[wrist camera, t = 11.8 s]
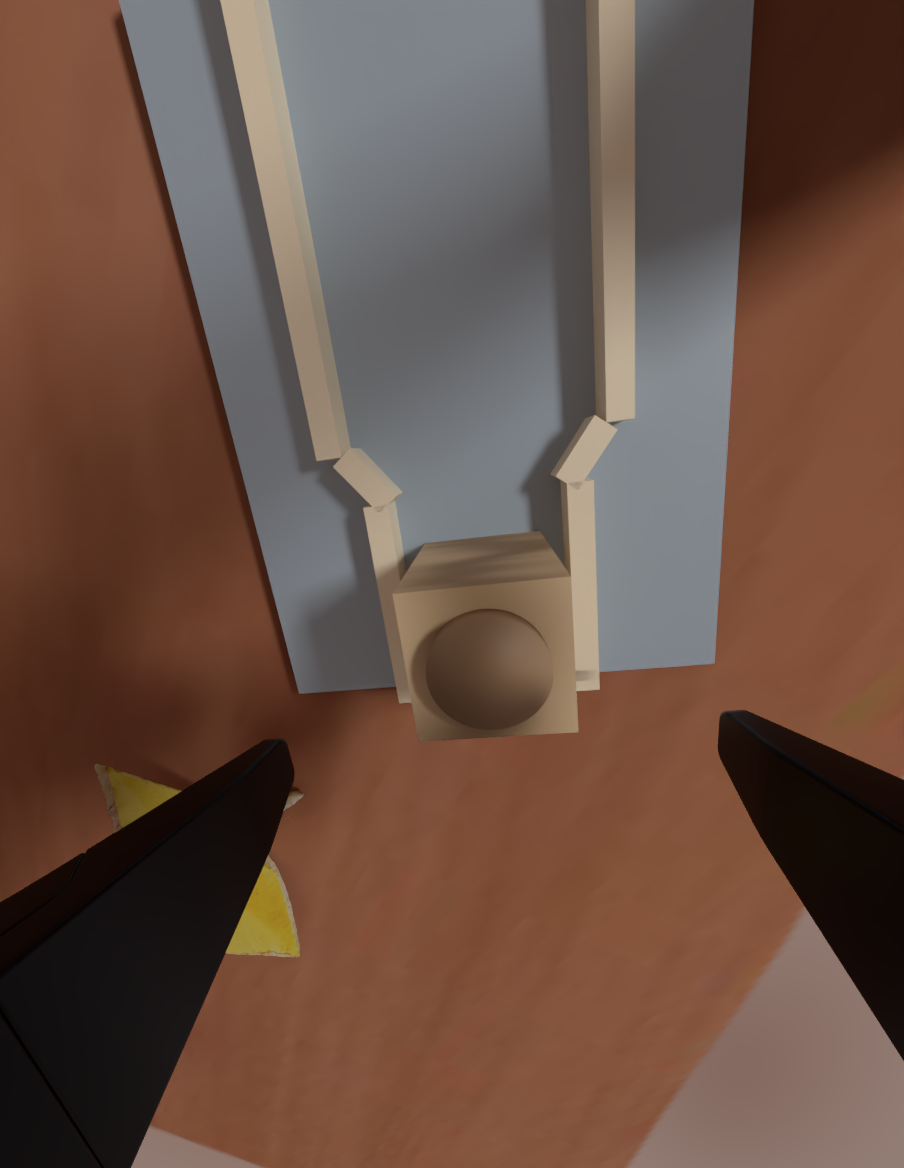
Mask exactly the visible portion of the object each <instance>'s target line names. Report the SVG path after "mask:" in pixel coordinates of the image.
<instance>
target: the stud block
mask: <svg viewBox="0 0 904 1168" xmlns="http://www.w3.org/2000/svg"><path fill="white" fill-rule="evenodd" d="M392 595H393V600H394V606H395V612H396V617H397V623H398V629H399V634H400V640H401V646H402V651H403V657H404V663H405V668H406V674H407V680H408V685H409V691H410V697H411V702H412V708H413V714H414V719H415V725H416V731H417V736H418V742H421V741H438V740H454V739H471V738H488V737H504V736H521V735H538V734H554V733H571V732H578V712H577V691H576V670H575V649H574V628H573V608H572V587H571V576H570V574H569V573H568V571H567V570H566V568H565V567H564V565H563V564H562V562H561V561H560V560H559V558H558V557H557V555H556V554H555V552H554V551H553V549H552V548H551V546H550V545H549V543H548V542H547V541H546V539H545V538H544V536H543V535H542V533H541V532H540V530H539V531H530V532H521V533H512V534H503V535H494V536H485V537H476V538H467V539H458V540H449V541H440V542H431V543H425V544H424V546H423V547H422V549H421V550H420V552H419V554H418V555H417V557H416V558H415V560H414V561H413V563H412V564H411V566H410V567H409V569H408V571H407V572H406V574H405V575H404V577H403V578H402V580H401V581H400V583H399V585H398V586H397V588H396V589H395V591H394V592H393V594H392Z"/></svg>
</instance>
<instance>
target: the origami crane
mask: <svg viewBox="0 0 904 1168" xmlns="http://www.w3.org/2000/svg"><path fill="white" fill-rule="evenodd" d="M94 769H95V771H96V772H97V774H98V777H97V779H98V780H99V782H100V783H101V785H102V791H103V793H104V795H105V797H106V799H105V800H107V801H106V802H107V803H108V806H107V811H108V815H109V816H110V817H111V818H112V820H113V821H114V822H113V828H114V832H117V831H118V830H120V829H122V828H123V827H125V826H126V825H128V824H130V823H131V822H133V821H134V820H136V819H138V818H139V817H141V816H143V815H144V814H146V813H147V812H149V811H151V810H152V809H154V808H155V807H157V806H159V805H160V804H162V803H163V802H165V801H167V800H168V799H170V798H172V797H173V796H175V795H176V794H178V793H180V792H181V791H182V790H178V789H176V788H172V787H169V786H166V785H163V784H160V783H157V782H154V781H151V780H148V779H145V778H142V777H138V776H137V775H133V774H129V773H127V772H124V771H123V772H122V771H120V770H117V769H116V768H112V767H110V766H106V765H99V764H98V763H97V764H95V766H94ZM302 797H304V794H303V793H302V792H301V791H300V790H297V791H292V792H290V793H289V796H288V799H287V802H286V805H285V808H284V811H285V809H286V808H289V807H291V806H292V805H294V804H295V803H296V802H297V801H298V800H299V799H301V798H302ZM284 811H283V812H284ZM292 814H293V813H292ZM292 814H291V815H290V816H292ZM290 816H288V817H286V818H290ZM275 865H276V864H275V863H274V862H273V861H272V859H271V858H270V857H269V855H268V857H267V859H266V862H265V864H264V867H263V869H262V871H261V873H260V876H259V878H258V880H257V882H256V885H255V887H254V889H253V891H252V894H251V896H250V898H249V901H248V903H247V905H246V907H245V910H244V912H243V914H242V916H241V919H240V921H239V923H238V926H237V928H236V930H235V932H234V935H233V937H232V939H231V941H230V944H229V946H228V948H227V951H226V954H236V955H242V954H247V955H264V956H272V955H273V956H279V957H299V955H300V952H299V950H300V944H299V943H298V941H299V940H298V936H297V928H296V925H295V923H294V921H295V920H294V917H293V913H292V911H293V910H292V909H291V908H292V906H291V903H290V900H289V898H288V893H287V891H286V888H285V884H284V883H283V881H282V878H281V875H280V873H279V870H278V869H277V867H276V866H275Z"/></svg>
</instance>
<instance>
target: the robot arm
mask: <svg viewBox="0 0 904 1168" xmlns="http://www.w3.org/2000/svg"><path fill="white" fill-rule="evenodd" d="M718 752H719V756H720V759H721V761H722V763H723V765H724V767H725V769H726V771H727V773H728V775H729V777H730V779H731V781H732V783H733V785H734V787H735V788H736V790H737V792H738V794H739V796H740V798H741V800H742V802H743V804H744V806H745V808H746V810H747V812H748V814H749V816H750V818H751V820H752V822H753V824H754V826H755V827H756V829H757V831H758V833H759V835H760V837H761V838H762V840H763V841H764V843H765V845H766V846H767V848H768V850H769V851H770V853H771V854H772V856H773V857H774V859H775V861H776V862H777V864H778V865H779V867H780V868H781V870H782V872H783V873H784V875H785V876H786V878H787V879H788V881H789V882H790V884H791V886H792V887H793V889H794V890H795V892H796V893H797V895H798V897H799V898H800V900H801V901H802V903H803V904H804V906H805V907H806V909H807V911H808V912H809V914H810V915H811V917H812V918H813V920H814V921H815V923H816V925H817V926H818V928H819V929H820V931H821V932H822V934H823V936H824V937H825V939H826V940H827V942H828V943H829V945H830V947H831V948H832V950H833V951H834V953H835V954H836V956H837V957H838V959H839V961H840V962H841V963H842V965H843V967H844V968H845V970H846V971H847V973H848V975H849V976H850V978H851V979H852V981H853V982H854V984H855V985H856V987H857V989H858V990H859V992H860V993H861V995H862V996H863V998H864V999H865V1001H866V1003H867V1004H868V1006H869V1007H870V1009H871V1011H872V1012H873V1014H874V1015H875V1017H876V1018H877V1020H878V1021H879V1023H880V1024H881V1026H882V1028H883V1029H884V1031H885V1032H886V1034H887V1035H888V1037H889V1039H890V1040H891V1042H892V1043H893V1045H894V1046H895V1048H896V1050H897V1051H898V1053H899V1054H900V1056H901V1057H902V1059H903V1060H904V780H903V779H901V778H898V777H896V776H894V775H892V774H889V773H887V772H885V771H883V770H880V769H878V768H876V767H873V766H871V765H869V764H867V763H864V762H862V761H860V760H858V759H855V758H853V757H851V756H848V755H846V754H844V753H842V752H839V751H837V750H835V749H833V748H830V747H828V746H826V745H823V744H821V743H819V742H817V741H814V740H812V739H810V738H808V737H805V736H803V735H801V734H798V733H796V732H794V731H792V730H789V729H787V728H785V727H783V726H780V725H778V724H776V723H773V722H771V721H769V720H767V719H764V718H762V717H760V716H758V715H755V714H753V713H751V712H748V711H746V710H736V711H724V712H723V713H722V714H721V716H720V720H719V735H718ZM293 781H294V767H293V763H292V760H291V756H290V753H289V749H288V746H287V743H286V741H285V740H283V739H267V740H264V741H262V742H260V743H259V744H257V745H255V746H254V747H252V748H251V749H249V750H247V751H246V752H244V753H242V754H241V755H239V756H238V757H236V758H234V759H233V760H231V761H230V762H228V763H226V764H225V765H223V766H222V767H220V768H218V769H217V770H215V771H213V772H212V773H210V774H209V775H207V776H205V777H204V778H202V779H201V780H199V781H197V782H196V783H194V784H192V785H191V786H189V787H188V788H186V789H184V790H183V791H181V792H180V793H178V794H176V795H175V796H173V797H172V798H170V799H168V800H167V801H165V802H163V803H162V804H160V805H159V806H157V807H155V808H154V809H152V810H151V811H149V812H147V813H146V814H144V815H143V816H141V817H139V818H138V819H136V820H134V821H133V822H131V823H130V824H128V825H126V826H125V827H123V828H122V829H120V830H118V831H117V832H115V833H113V834H112V835H110V836H109V837H107V838H105V839H104V840H102V841H101V842H99V843H97V844H96V845H94V846H93V847H91V848H89V849H88V850H87V851H86V853H81V854H79V855H78V856H76V857H75V858H73V859H71V860H70V861H68V862H67V863H65V864H63V865H62V866H60V867H58V868H57V869H55V870H54V871H52V872H50V873H49V874H47V875H45V876H44V877H42V878H40V879H39V880H37V881H35V882H34V883H32V884H30V885H29V886H27V887H25V888H24V889H22V890H21V891H19V892H17V893H15V894H14V895H12V896H10V897H9V898H7V899H5V900H3V901H2V902H0V1168H131V1166H132V1164H133V1162H134V1159H135V1157H136V1155H137V1153H138V1150H139V1148H140V1146H141V1143H142V1141H143V1139H144V1137H145V1134H146V1132H147V1130H148V1128H149V1125H150V1123H151V1121H152V1118H153V1116H154V1114H155V1112H156V1109H157V1107H158V1105H159V1103H160V1100H161V1098H162V1096H163V1094H164V1091H165V1089H166V1087H167V1084H168V1082H169V1080H170V1078H171V1075H172V1073H173V1071H174V1069H175V1066H176V1064H177V1062H178V1059H179V1057H180V1055H181V1053H182V1050H183V1048H184V1046H185V1044H186V1041H187V1039H188V1037H189V1035H190V1032H191V1030H192V1028H193V1025H194V1023H195V1021H196V1019H197V1016H198V1014H199V1012H200V1010H201V1007H202V1005H203V1003H204V1000H205V998H206V996H207V994H208V991H209V989H210V987H211V985H212V982H213V980H214V978H215V975H216V973H217V971H218V969H219V966H220V964H221V962H222V960H223V957H224V955H225V953H226V951H227V948H228V946H229V944H230V941H231V939H232V937H233V935H234V932H235V930H236V928H237V926H238V923H239V921H240V919H241V916H242V914H243V912H244V910H245V907H246V905H247V903H248V901H249V898H250V896H251V894H252V891H253V889H254V887H255V885H256V882H257V880H258V878H259V876H260V873H261V871H262V869H263V867H264V864H265V862H266V859H267V857H268V855H269V852H270V850H271V847H272V844H273V841H274V839H275V835H276V832H277V829H278V826H279V823H280V820H281V817H282V814H283V811H284V808H285V805H286V802H287V799H288V796H289V793H290V790H291V787H292V784H293Z"/></svg>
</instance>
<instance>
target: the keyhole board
mask: <svg viewBox="0 0 904 1168" xmlns="http://www.w3.org/2000/svg"><path fill="white" fill-rule="evenodd" d="M119 3H120V7H121V11H122V15H123V18H124V22H125V26H126V30H127V34H128V38H129V41H130V45H131V49H132V53H133V57H134V61H135V65H136V68H137V72H138V76H139V80H140V84H141V88H142V91H143V95H144V99H145V103H146V107H147V111H148V115H149V118H150V122H151V126H152V130H153V134H154V138H155V141H156V145H157V149H158V153H159V157H160V161H161V165H162V168H163V172H164V176H165V180H166V184H167V188H168V191H169V195H170V199H171V203H172V207H173V211H174V214H175V218H176V222H177V226H178V230H179V234H180V238H181V241H182V245H183V249H184V253H185V257H186V261H187V264H188V268H189V272H190V276H191V280H192V284H193V288H194V291H195V295H196V299H197V303H198V307H199V311H200V314H201V318H202V322H203V326H204V330H205V334H206V338H207V341H208V345H209V349H210V353H211V357H212V361H213V364H214V368H215V372H216V376H217V380H218V384H219V388H220V391H221V395H222V399H223V403H224V407H225V411H226V414H227V418H228V422H229V426H230V430H231V434H232V438H233V441H234V445H235V449H236V453H237V457H238V461H239V464H240V468H241V472H242V476H243V480H244V484H245V488H246V491H247V495H248V499H249V503H250V507H251V511H252V514H253V518H254V522H255V526H256V530H257V534H258V537H259V541H260V545H261V549H262V553H263V557H264V561H265V564H266V568H267V572H268V576H269V580H270V584H271V587H272V591H273V595H274V599H275V603H276V607H277V611H278V614H279V618H280V622H281V626H282V630H283V634H284V637H285V641H286V645H287V649H288V653H289V657H290V661H291V664H292V668H293V672H294V676H295V680H296V684H297V687H298V691H299V694H304V693H318V692H331V691H345V690H359V689H373V688H386V687H396V689H397V694H398V700H399V703H411V697H410V691H409V685H408V680H407V674H406V668H405V663H404V657H403V651H402V646H401V640H400V634H399V629H398V623H397V617H396V612H395V606H394V600H393V595H392V594H393V592H394V591H395V589H396V588H397V586H398V585H399V583H400V581H401V580H402V578H403V577H404V575H405V574H406V572H407V571H408V569H409V567H410V566H411V564H412V563H413V561H414V560H415V558H416V557H417V555H418V554H419V552H420V550H421V549H422V547H423V546H424V544H425V543H431V542H440V541H449V540H458V539H467V538H476V537H485V536H494V535H503V534H512V533H521V532H530V531H539V530H540V532H541V533H542V535H543V536H544V538H545V539H546V541H547V542H548V543H549V545H550V546H551V548H552V549H553V551H554V552H555V554H556V555H557V557H558V558H559V560H560V561H561V562H562V564H563V565H564V567H565V568H566V570H567V571H568V573H569V574H570V576H571V587H572V608H573V628H574V649H575V670H576V691H586V690H600V685H599V672H606V671H620V670H634V669H647V668H661V667H675V666H689V665H702V664H715V647H716V631H717V614H718V597H719V580H720V564H721V547H722V530H723V514H724V497H725V480H726V463H727V447H728V430H729V413H730V397H731V380H732V363H733V346H734V330H735V313H736V296H737V280H738V263H739V246H740V229H741V213H742V196H743V179H744V163H745V146H746V129H747V112H748V96H749V79H750V62H751V46H752V29H753V12H754V0H119Z"/></svg>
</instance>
